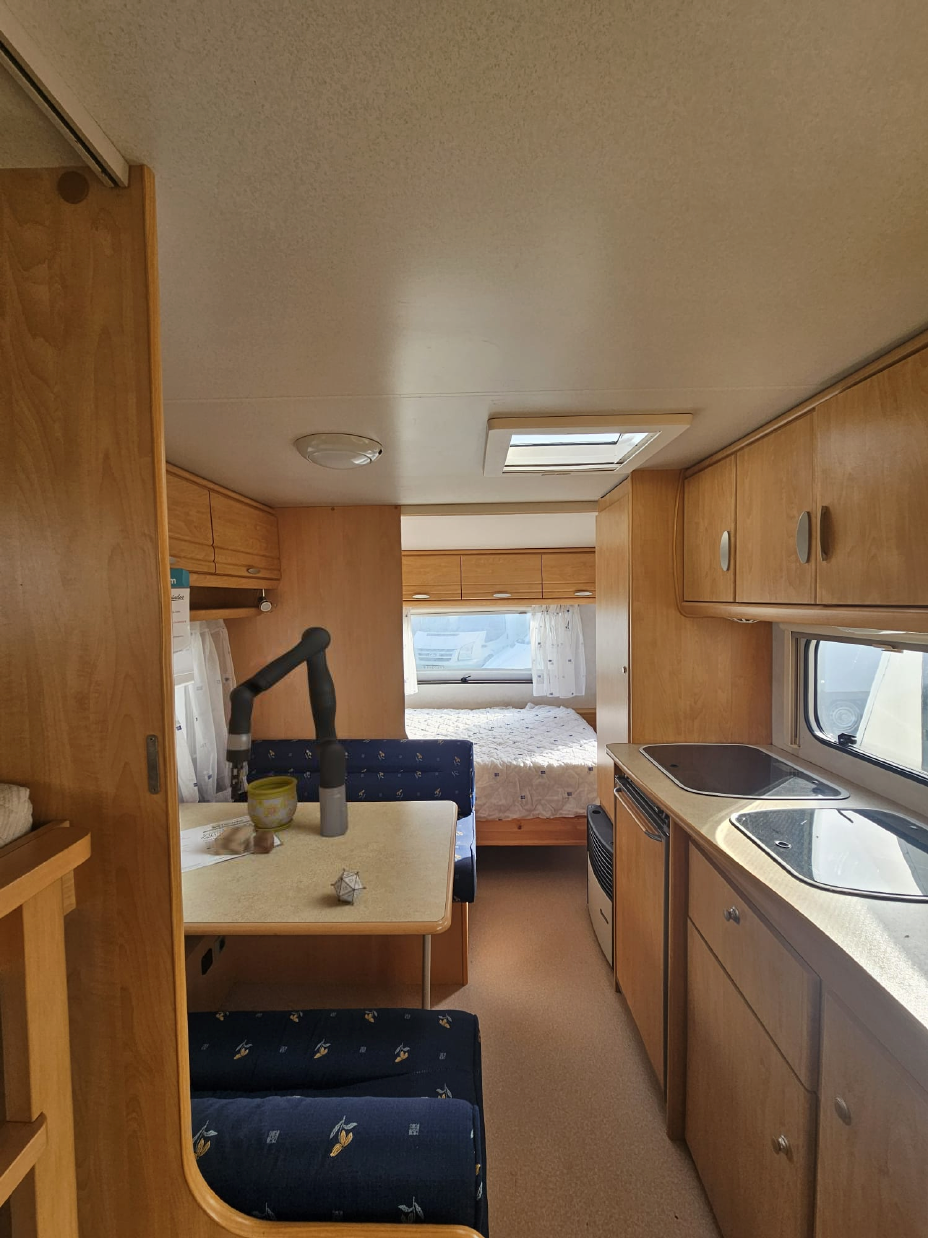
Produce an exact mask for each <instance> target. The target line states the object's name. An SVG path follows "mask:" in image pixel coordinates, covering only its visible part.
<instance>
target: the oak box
mask: <svg viewBox="0 0 928 1238" xmlns="http://www.w3.org/2000/svg"><path fill="white" fill-rule="evenodd" d="M253 836H254V827H253V826H236V827H235V826H231V827H226V829H224V830H223V831H222V832H220V833H219V834H218V835H217V836H216V837H215V838H214V849H215V851H214V852H215V856H217V857H218V856H220V857H221V856H242V855H243V854H244V853H246V852H247V850H248V849H249V848H251V847H252V845H253Z"/></svg>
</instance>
